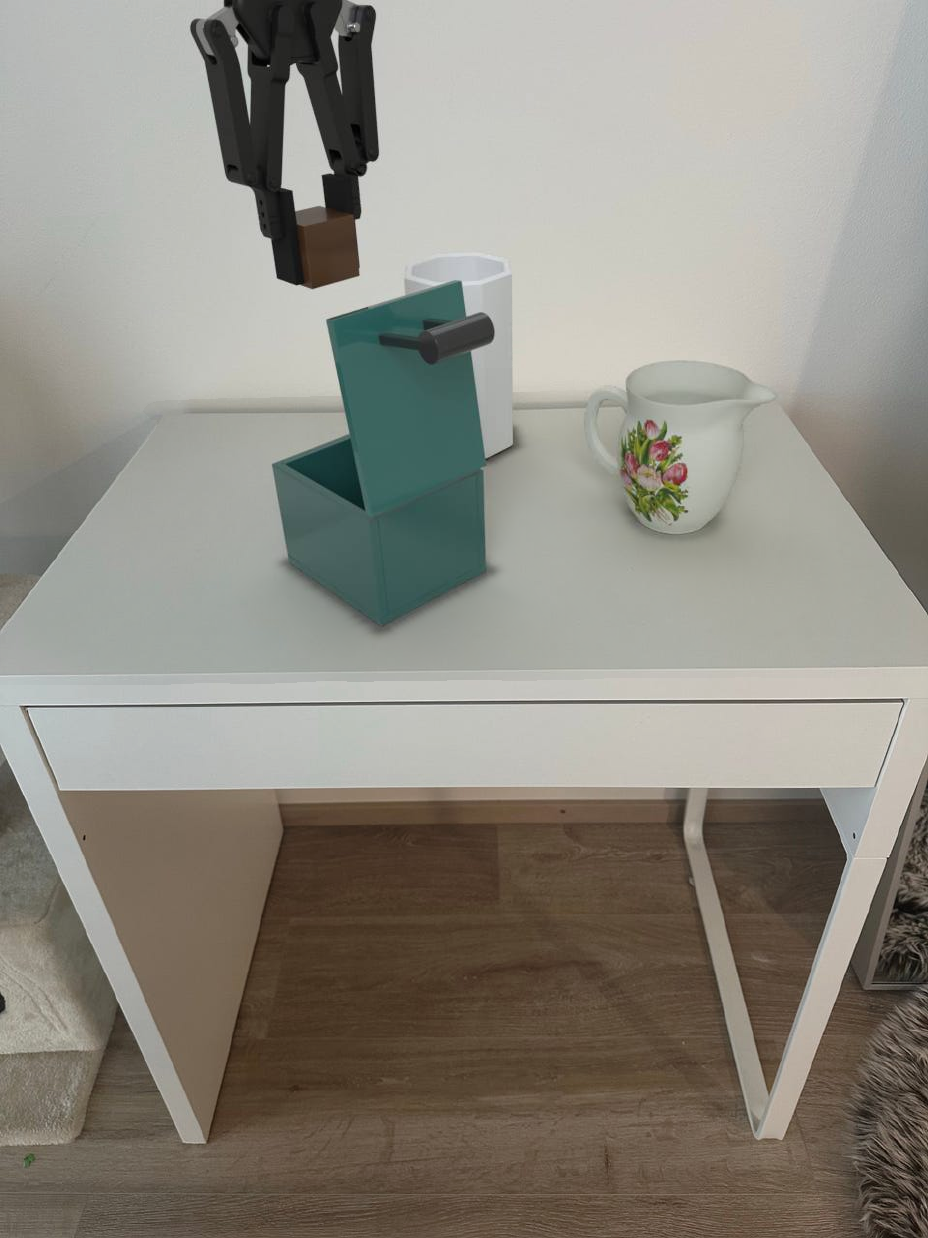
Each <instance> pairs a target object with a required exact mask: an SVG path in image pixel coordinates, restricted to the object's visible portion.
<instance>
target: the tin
mask: <svg viewBox="0 0 928 1238" xmlns="http://www.w3.org/2000/svg"><path fill="white" fill-rule="evenodd" d="M271 467H272V468H271V469H272V475H273V477H274V478H273V480H274V484H275V490H276V496H277V501H278V502H277V503H278V508H279V514H280V518H281V519H280V520H281V524H282V529H283V530H282V531H283V536H284V542H285V548H286V553H287V554H286V555H287V559H288V563H289V564H291V565H293V566H294V567H295V568H297V569H298V570H300V571H301V572H302V573H304V574H305V575H307V576H309V578H311V579H313V580H314V581H315V582H317V583H318V584H319V585H321V586H322V587H324V588H325V589H327V590H328V591H330V592H331V593H333V594H334V595H335V596H336V597H338V598H340V599H341V600H342V601H344V602H345V603H347V604H349V605H350V606H351V607H353V608H354V609H356V610H357V611H358V612H360V613H361V614H363V615H364V616H366V617H367V618H368V619H370V620H371V621H373V622H374V623H376V624H377V625H378V626H380V627H383V626H385V625H387V624H389V623H391V622H393V621H395V620H397V619H398V618H401V617H402V616H404V615H406V614H408V613H410V612H411V611H413V610H416V609H417V608H419V607H420V606H423V605H424V604H426V603H428V602H431V601H432V600H434V599H435V598H437V597H440V596H441V595H444V594H445V593H447V592H449V591H451V590H453V589H455V588H456V587H458V586H460V585H462V584H464V583H465V582H468V581H470V580H472V579H474V578H475V577H477V576H479V575H481V574H482V573H484V572H486V571H487V560H486V559H487V556H486V555H487V554H486V551H487V550H486V518H485V516H486V515H485V514H486V513H485V483H484V481H485V480H484V477H485V476H484V469H483V468H480V469H478V470H476V471H473V472H471V473H469V474H467V475H464V476H462V477H460V478H458V479H456V480H453V481H451V482H449V483H447V484H445V485H442V486H440V487H438V488H436V489H434V490H431V491H429V492H427V493H425V494H423V495H420V496H418V497H416V498H414V499H412V500H409V501H407V502H405V503H403V504H401V505H398V506H396V507H394V508H392V509H390V510H387V511H385V512H383V513H381V514H379V515H376V516H374V517H370V516H367V515H366V511H365V506H364V501H363V497H362V492H361V487H360V482H359V477H358V472H357V468H356V463H355V458H354V453H353V448H352V443H351V439H350V434H349V433H347V434H345V435H342V436H341V437H337V438H335V439H333V440H330V441H327V442H324V443H322V444H320V445H317V446H315V447H312V448H310V449H307V450H304V451H302V452H299V453H296V454H294V455H291V456H288V457H286V458H284V459H281V460H278V461H275V462H273V463H271Z"/></svg>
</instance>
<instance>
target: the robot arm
mask: <svg viewBox="0 0 928 1238" xmlns="http://www.w3.org/2000/svg"><path fill="white" fill-rule="evenodd" d="M376 20H377V12H376V9H375V8H374V6H373V5H372V4H371V5H369V4H357V3H354V2H353V1H350V0H223V7H222V8H220V9H219V10H217V11H216V12H214V13H213V14H211V15H209V16H208V17H207V18H194V19H192V21H190V26H189V31H190V34H191V36H192V38H193V40H194V42H195V44H196V47H197V49H198V51H199V53H200V55H201V57H202V59H203V61H204V66H205V71H206V76H207V83H208V88H209V93H210V98H211V99H210V100H211V104H212V110H213V115H214V122H215V127H216V131H217V137H218V142H219V147H220V153H221V158H222V163H223V169H224V174H225V175H224V176H225V177H226V180H227V181H228V182H230V183H233V184H237V185H241V186H245V187H248V188H250V189H251V190H252V192H253V193H254V198H255V199H254V200H255V204H256V211H257V215H258V216H257V217H258V222H259V230H260V232H261V234H262V236H263V237H264V238H268V239H270V241H271V249H272V255H273V261H274V268H275V275H276V279H277V280H280V281H283V282H285V283H289V284H291V285H294V286H301V284H304V275H303V268H302V260H301V253H300V246H299V238H298V231H297V220H296V213H295V211H296V206H295V200H294V192H293V190H292V189H288V188H285V187H282V184H283V157H284V136H285V135H284V134H285V133H284V132H285V131H284V130H285V106H286V105H285V104H286V85H287V83H288V82H289V81H290V78H291V66H293V65H295V66H296V69H297V72H298V73H299V74H300V75H301V76H302V78H303V80H304V81H303V82H304V85H305V86H306V90H307V95H308V98H309V101H310V104H311V108H312V112H313V114H314V118H315V121H316V125H317V128H318V132H319V135H320V138H321V139H320V140H321V142H322V146H323V148H324V152H325V155H326V159H327V163H328V166H329V168H330V170H332V171H333V173H325V174H321V182H322V190H323V199H324V207H325V208H329V209H333V210H337V211H341V212H345V213H349V214H352V215H354V224H355V234H356V244H357V254H358V263H359V269H360V268H361V265H360V256H359V246H358V245H359V244H358V235H357V226H356V220H360V219H361V216H362V204H361V203H362V202H361V193H360V191H361V190H360V182H359V181H360V179H359V177H360V178H361V177H364V176H365V175H366V173H367V171H368V164H369V163H370V162H371V163H374V162H377V160H378V159H379V156H380V143H379V131H378V129H379V128H378V117H377V104H376V101H377V100H376V88H375V76H374V74H375V73H374V62H373V60H374V59H373V46H372V44H373V39H374V32H375V27H376ZM334 30H335V31H336V32H337V34H338V36H337V37H338V38H337V47H338V48H337V51H338V52H337V53H338V59H337V55H336V51H335V48H334V44H333V41H332V35H333V32H334ZM236 32H237V33H238V34H239V35H240V37H241V38H242V39H243V41H244V42H245V44H246V45H247V61H246V63H247V65H246V66H247V68H246V71H247V76H248V77H249V79H250V99H249V100H250V107H249V111H248V105H247V104H248V103H247V98H246V92H245V88H244V87H245V86H244V80H243V73H242V68H241V63H240V60H239V56H238V53H237V51H236V48H237V47H238V45H239V39H238V37H237V35H236ZM338 71H339V73H340V82H339V77H338ZM249 112H250V113H249Z"/></svg>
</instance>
